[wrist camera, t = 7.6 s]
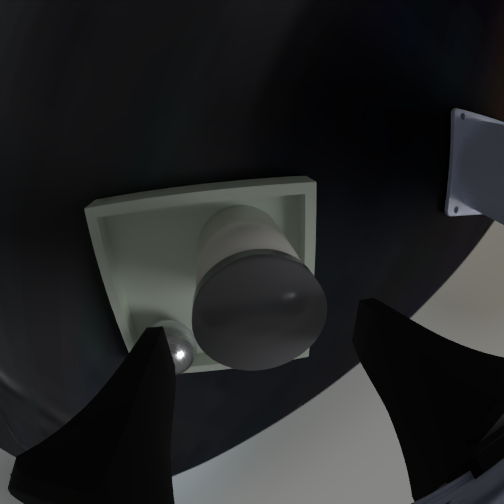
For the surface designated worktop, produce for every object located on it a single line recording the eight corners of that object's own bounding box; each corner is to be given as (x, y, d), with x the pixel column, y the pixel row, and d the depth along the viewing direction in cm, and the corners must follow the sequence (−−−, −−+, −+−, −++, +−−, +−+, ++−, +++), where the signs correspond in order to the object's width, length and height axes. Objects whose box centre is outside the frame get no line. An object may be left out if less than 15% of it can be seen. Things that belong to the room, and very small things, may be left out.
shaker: (284, 200, 16) (333, 254, 10) (283, 280, 18) (320, 360, 12) (191, 207, 16) (182, 268, 9) (200, 288, 18) (201, 375, 11)
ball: (192, 305, 18) (191, 343, 15) (201, 346, 20) (202, 384, 16) (139, 310, 18) (129, 347, 15) (152, 350, 19) (146, 387, 16)
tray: (305, 175, 16) (316, 181, 15) (301, 340, 21) (308, 356, 20) (95, 199, 15) (84, 208, 13) (141, 358, 20) (138, 375, 19)
